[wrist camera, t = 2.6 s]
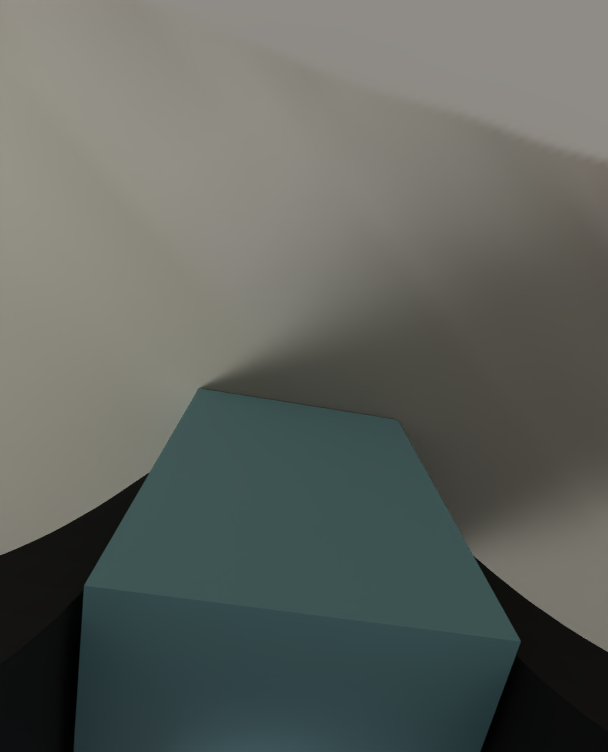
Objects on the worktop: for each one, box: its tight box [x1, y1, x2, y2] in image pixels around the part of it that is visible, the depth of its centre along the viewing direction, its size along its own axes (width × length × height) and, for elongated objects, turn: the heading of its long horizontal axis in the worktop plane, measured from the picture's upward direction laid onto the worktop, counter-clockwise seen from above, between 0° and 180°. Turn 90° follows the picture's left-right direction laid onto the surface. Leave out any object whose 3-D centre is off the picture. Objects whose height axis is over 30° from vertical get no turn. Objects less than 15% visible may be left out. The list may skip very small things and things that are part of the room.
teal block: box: [74, 388, 521, 752], centre depth 10 cm, size 5×5×7 cm
